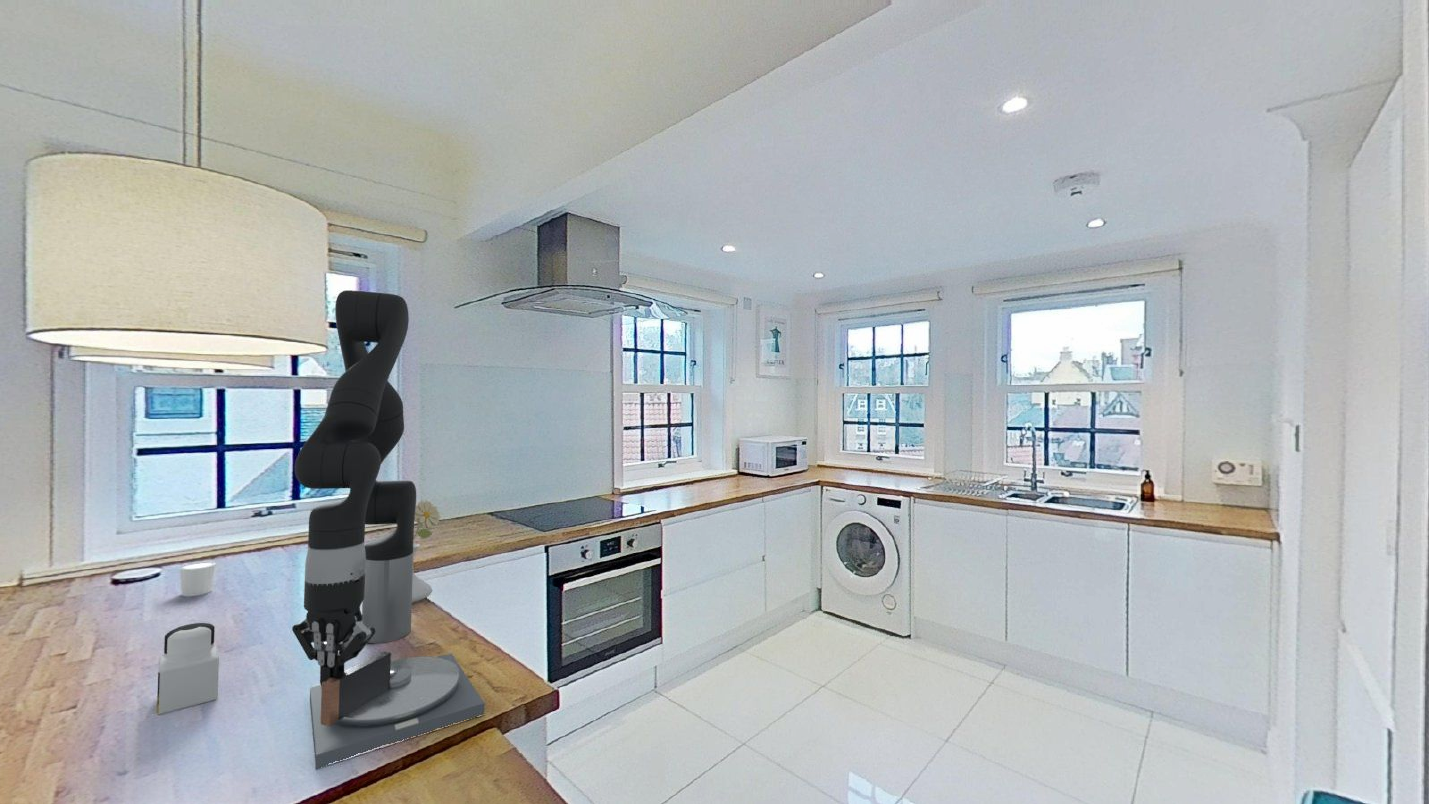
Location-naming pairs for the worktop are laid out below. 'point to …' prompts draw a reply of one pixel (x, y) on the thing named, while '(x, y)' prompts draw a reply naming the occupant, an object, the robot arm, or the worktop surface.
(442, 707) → the plinth
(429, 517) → the flower in vase
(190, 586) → the white cup
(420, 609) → the worktop surface
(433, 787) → the worktop surface
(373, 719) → the rotary knob
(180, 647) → the grey handled container
